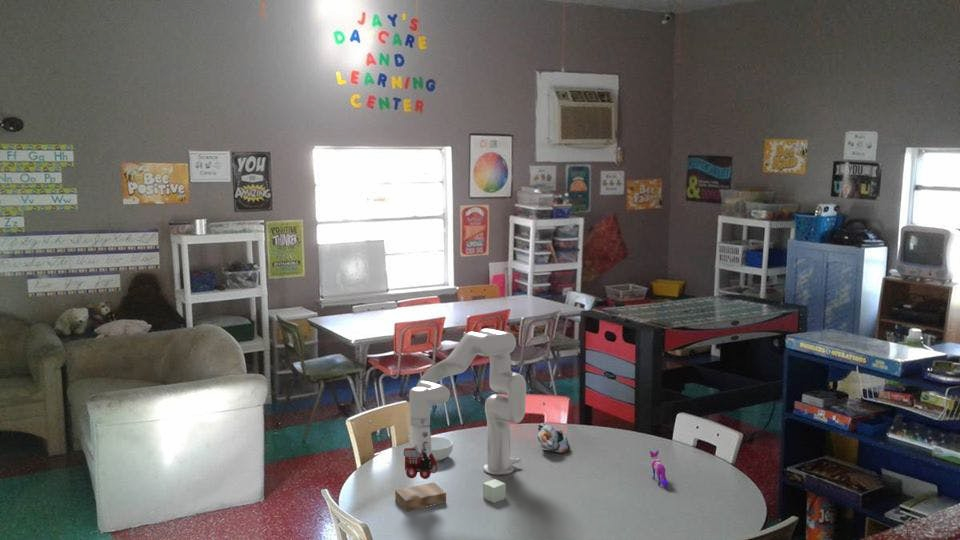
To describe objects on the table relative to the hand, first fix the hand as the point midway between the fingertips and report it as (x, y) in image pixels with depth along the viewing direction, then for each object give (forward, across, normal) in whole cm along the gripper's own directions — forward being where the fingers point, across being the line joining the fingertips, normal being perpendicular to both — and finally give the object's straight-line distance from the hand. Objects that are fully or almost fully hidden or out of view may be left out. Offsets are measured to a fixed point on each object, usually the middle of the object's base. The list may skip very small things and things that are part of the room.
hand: (420, 465), depth 296 cm
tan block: (+14, 0, 0) cm, 14 cm away
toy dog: (+14, -26, -92) cm, 97 cm away
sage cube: (+14, -10, -26) cm, 31 cm away
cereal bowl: (+14, +38, -22) cm, 46 cm away
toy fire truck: (+4, 0, 0) cm, 4 cm away
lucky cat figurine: (+14, +23, -74) cm, 78 cm away
